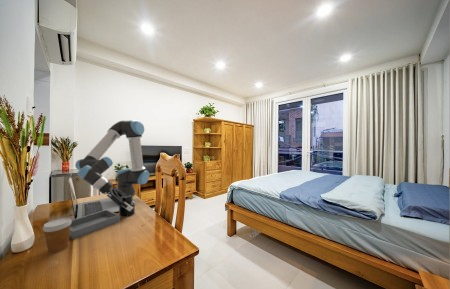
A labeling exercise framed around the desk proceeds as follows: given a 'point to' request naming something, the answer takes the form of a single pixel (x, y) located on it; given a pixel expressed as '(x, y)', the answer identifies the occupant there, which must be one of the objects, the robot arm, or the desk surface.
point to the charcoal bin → (92, 223)
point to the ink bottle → (129, 200)
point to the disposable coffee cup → (57, 234)
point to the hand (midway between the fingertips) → (132, 206)
